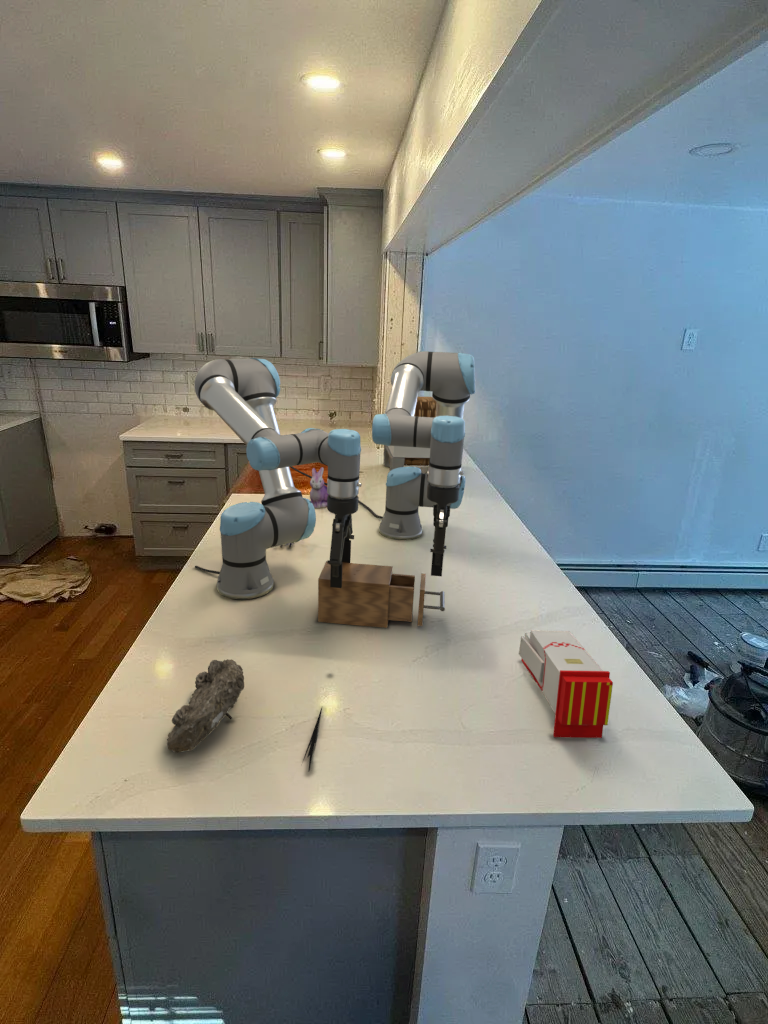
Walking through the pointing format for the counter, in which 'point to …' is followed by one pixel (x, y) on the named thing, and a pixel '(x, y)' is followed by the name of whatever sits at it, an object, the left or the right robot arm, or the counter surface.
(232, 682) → the fossil
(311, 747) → the feather
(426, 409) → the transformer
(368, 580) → the cabinet
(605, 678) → the toy
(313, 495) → the figurine
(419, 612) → the drawer
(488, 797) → the counter surface
